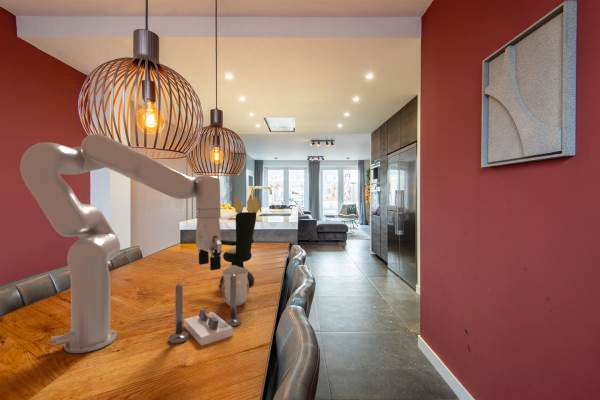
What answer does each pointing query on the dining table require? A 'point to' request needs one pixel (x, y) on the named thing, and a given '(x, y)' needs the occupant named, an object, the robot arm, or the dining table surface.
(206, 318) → the square dumbbell
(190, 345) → the dining table surface
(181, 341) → the rod left
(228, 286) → the pitcher
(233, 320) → the rod right
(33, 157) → the robot arm
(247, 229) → the flowering cactus
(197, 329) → the panel
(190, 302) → the dining table surface
